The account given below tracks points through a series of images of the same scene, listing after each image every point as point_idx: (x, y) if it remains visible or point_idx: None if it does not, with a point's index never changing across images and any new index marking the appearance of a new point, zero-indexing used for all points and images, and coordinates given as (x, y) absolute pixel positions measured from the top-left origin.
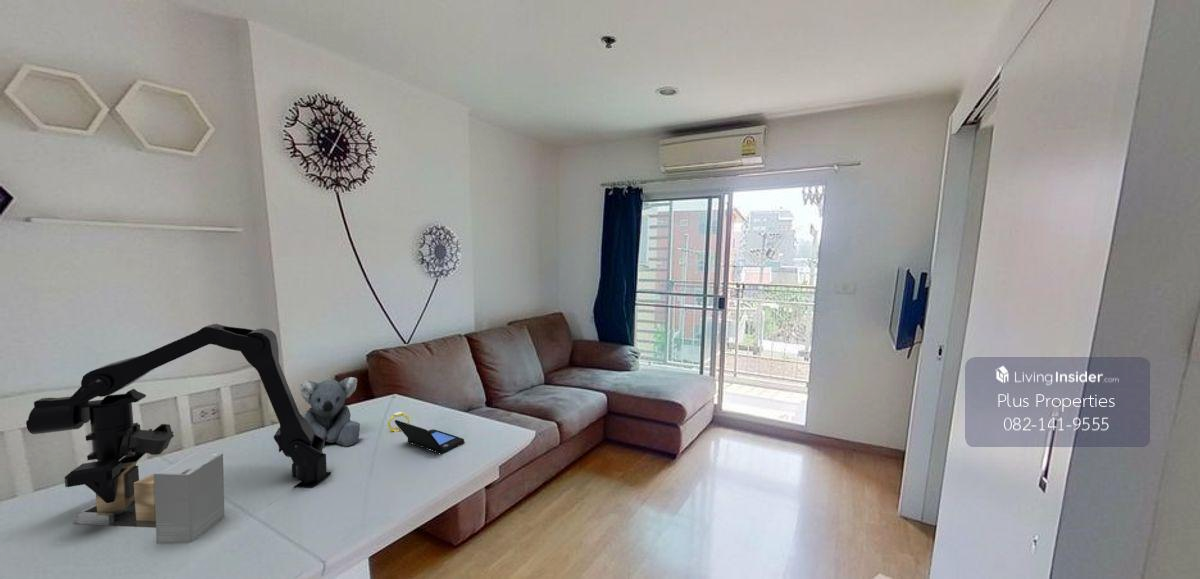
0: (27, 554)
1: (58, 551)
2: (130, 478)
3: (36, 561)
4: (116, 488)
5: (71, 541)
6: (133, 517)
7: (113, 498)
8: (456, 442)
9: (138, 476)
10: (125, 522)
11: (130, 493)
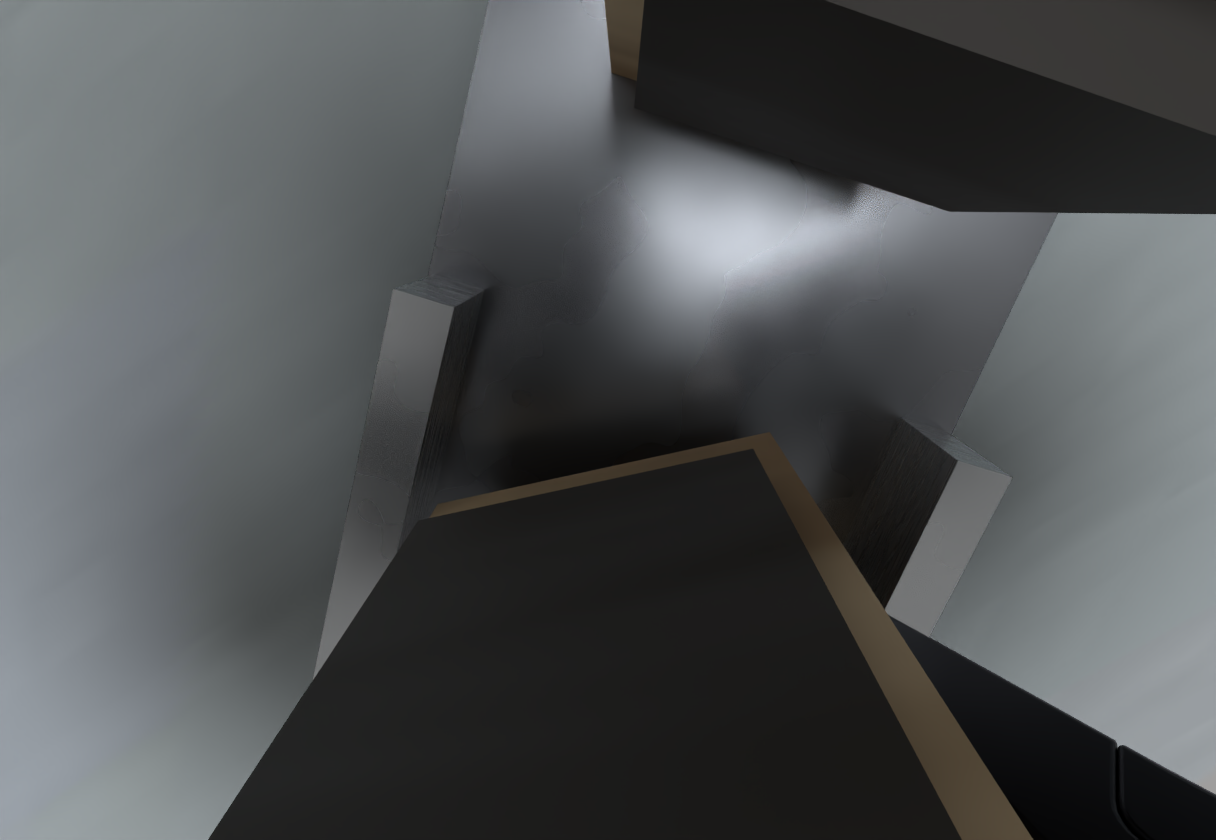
0: None
1: (1103, 615)
2: (738, 694)
3: (1205, 668)
4: None
5: (955, 627)
6: (847, 266)
7: (895, 623)
8: None
9: (331, 671)
10: (951, 281)
11: (737, 478)
